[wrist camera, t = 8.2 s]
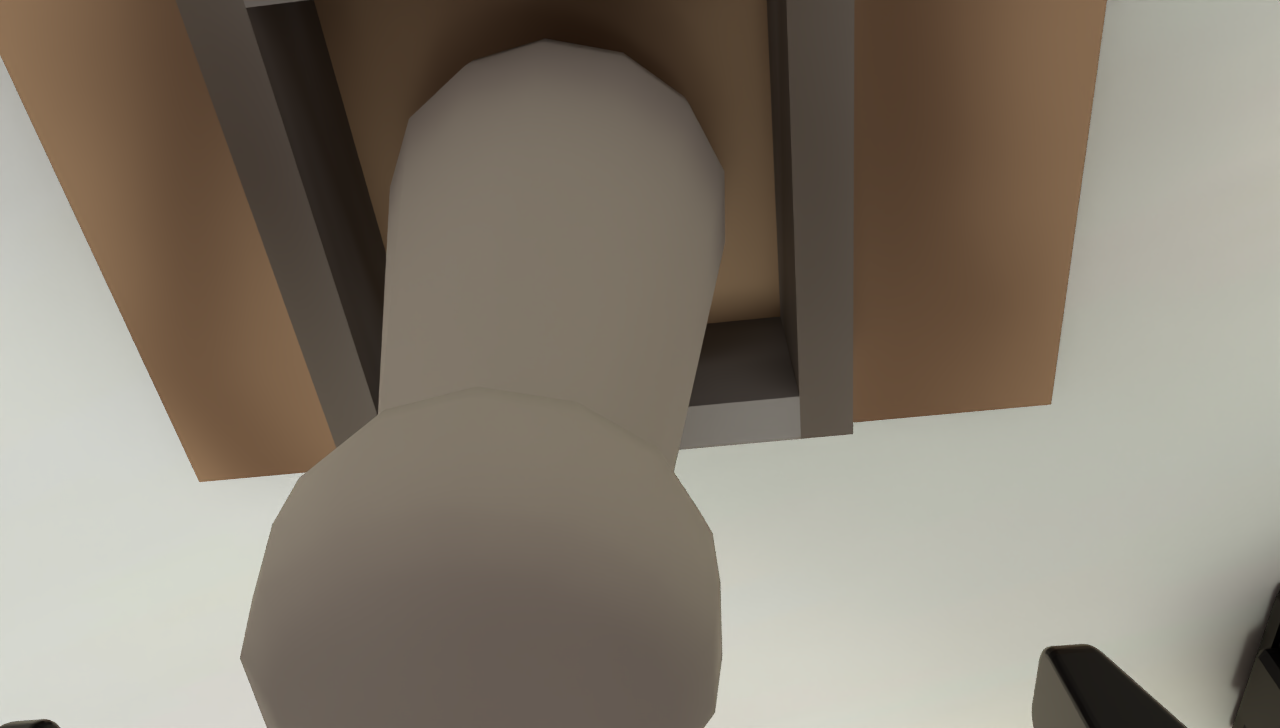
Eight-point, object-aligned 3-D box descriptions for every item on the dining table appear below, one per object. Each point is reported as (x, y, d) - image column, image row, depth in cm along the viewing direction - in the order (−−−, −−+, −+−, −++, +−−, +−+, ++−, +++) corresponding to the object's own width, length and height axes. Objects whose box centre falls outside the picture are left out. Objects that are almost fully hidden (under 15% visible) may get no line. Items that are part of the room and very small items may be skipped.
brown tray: (1141, -356, 15) (1264, -380, 12) (1043, 391, 22) (1103, 490, 20) (-91, -185, 16) (-254, -167, 13) (207, 468, 24) (145, 572, 21)
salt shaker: (563, 341, 21) (479, 988, 10) (357, 152, 19) (-37, 727, 8) (778, 172, 19) (962, 760, 8) (576, -64, 17) (453, 311, 6)
